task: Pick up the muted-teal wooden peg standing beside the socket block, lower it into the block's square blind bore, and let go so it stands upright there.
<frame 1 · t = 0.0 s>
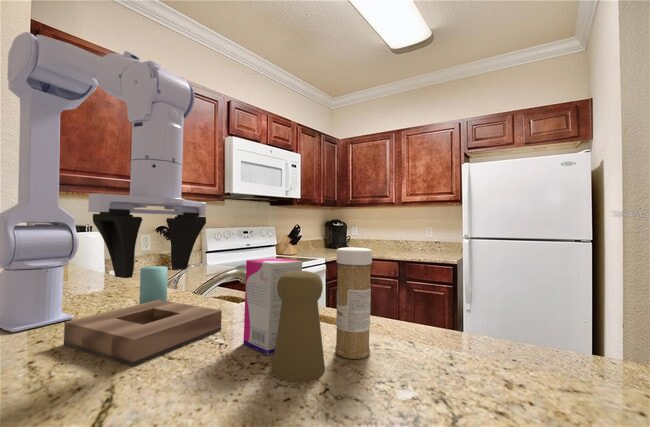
hand: (153, 272, 40), 10 cm above the countertop, tool pointing down, fingers open, 7 cm apart
supplement box: (272, 345, 44), on the countertop
peg: (152, 311, 59), on the countertop
sprinkles bottle: (352, 354, 41), on the countertop
brown tall rounded piece: (298, 370, 37), on the countertop
socket block: (148, 337, 46), on the countertop
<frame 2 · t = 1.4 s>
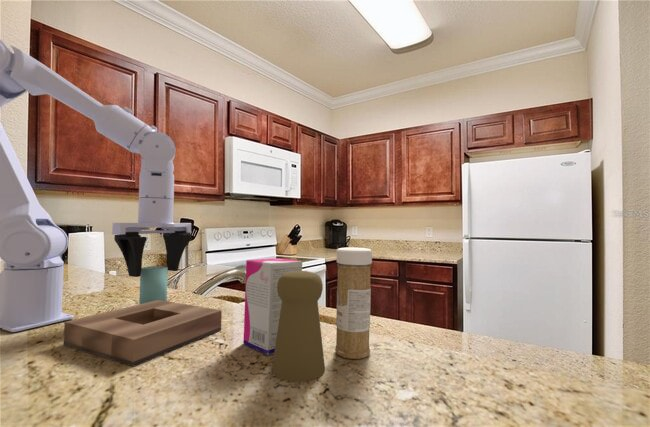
hand: (154, 273, 59), 7 cm above the countertop, tool pointing down, fingers open, 7 cm apart
nothing on the countertop moved.
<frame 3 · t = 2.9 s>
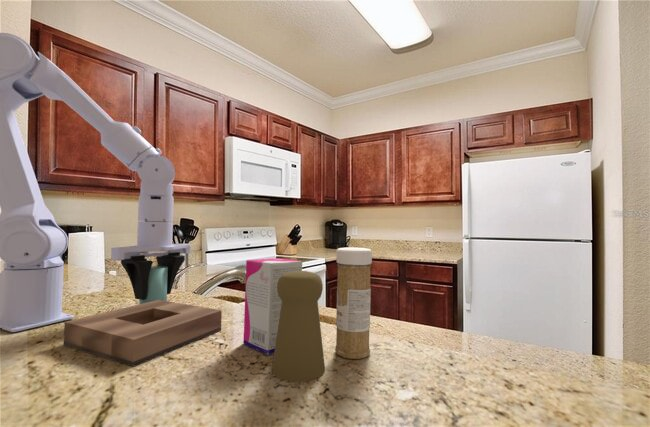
hand: (153, 296, 59), 3 cm above the countertop, tool pointing down, fingers closed on peg, 4 cm apart
peg: (152, 311, 59), on the countertop, touching gripper
everything else where it was.
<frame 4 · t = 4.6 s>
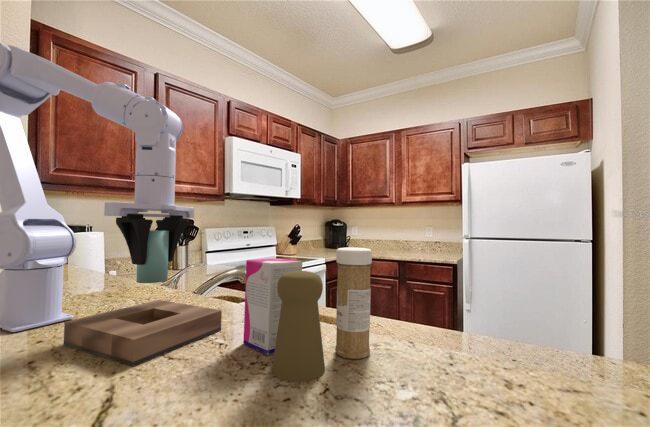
hand: (153, 262, 51), 10 cm above the countertop, tool pointing down, fingers closed on peg, 4 cm apart
peg: (152, 280, 51), point 7 cm above the countertop, touching gripper
everything else where it was.
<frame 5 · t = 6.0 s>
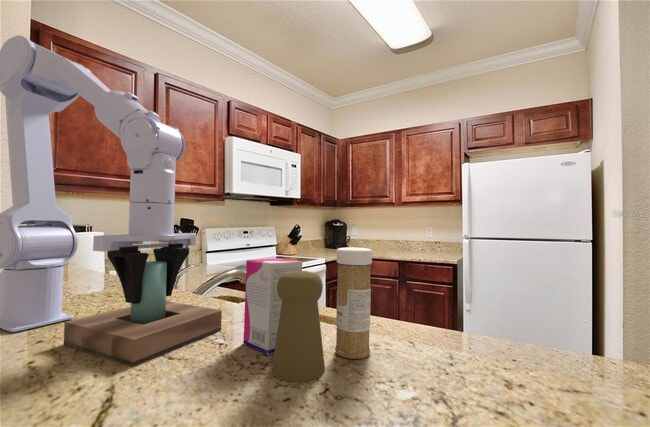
hand: (149, 298, 46), 5 cm above the countertop, tool pointing down, fingers closed on peg, 4 cm apart
peg: (148, 319, 46), point 3 cm above the countertop, touching gripper
everything else where it was.
when the fingers open (4 cm above the countertop, at t = 6.8 s): peg stays where it is, resting on socket block.
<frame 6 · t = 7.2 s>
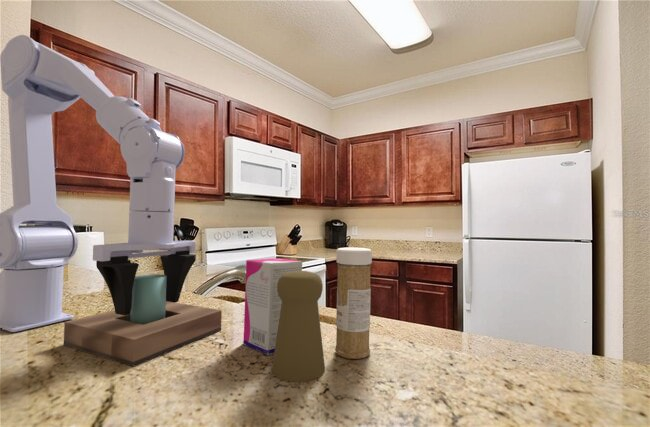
hand: (149, 307, 46), 4 cm above the countertop, tool pointing down, fingers open, 7 cm apart
peg: (147, 333, 46), point 1 cm above the countertop, touching socket block
everything else where it was.
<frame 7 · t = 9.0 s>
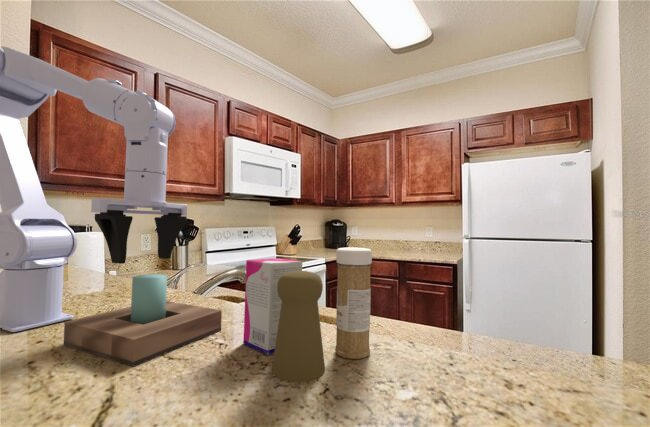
hand: (142, 260, 50), 10 cm above the countertop, tool pointing down, fingers open, 7 cm apart
nothing on the countertop moved.
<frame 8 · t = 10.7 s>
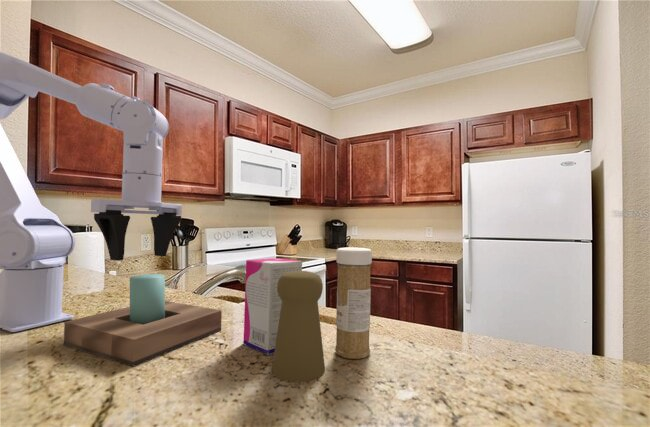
hand: (139, 257, 53), 10 cm above the countertop, tool pointing down, fingers open, 7 cm apart
nothing on the countertop moved.
at the end: peg 0.2 cm off-centre on the socket block, point 0.6 cm above the socket block's base; peg tilted 2°; the gripper is holding nothing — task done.
